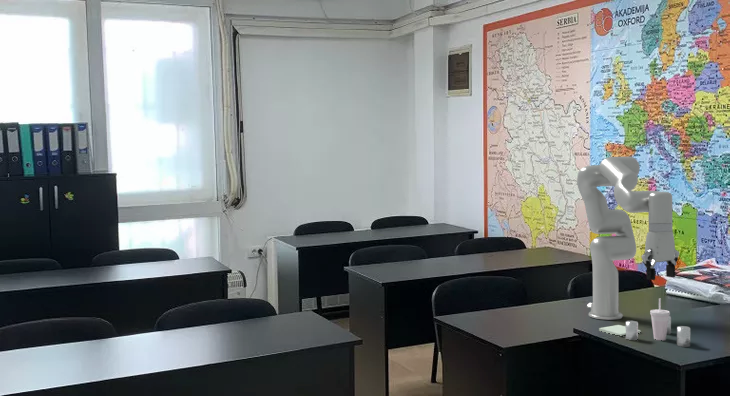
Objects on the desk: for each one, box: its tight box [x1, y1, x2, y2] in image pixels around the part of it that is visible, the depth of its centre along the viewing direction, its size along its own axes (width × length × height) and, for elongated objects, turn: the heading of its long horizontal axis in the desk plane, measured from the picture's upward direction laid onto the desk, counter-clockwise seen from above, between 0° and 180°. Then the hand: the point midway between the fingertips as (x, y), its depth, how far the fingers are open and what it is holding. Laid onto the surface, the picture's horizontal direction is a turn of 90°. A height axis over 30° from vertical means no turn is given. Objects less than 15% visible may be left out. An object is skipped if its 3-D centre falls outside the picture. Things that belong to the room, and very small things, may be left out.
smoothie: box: [649, 298, 671, 341], centre depth 244 cm, size 6×6×14 cm
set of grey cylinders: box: [625, 315, 691, 348], centre depth 242 cm, size 18×20×6 cm
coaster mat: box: [598, 324, 642, 336], centre depth 255 cm, size 10×10×1 cm
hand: (660, 278), depth 243 cm, fingers open, 9 cm apart
